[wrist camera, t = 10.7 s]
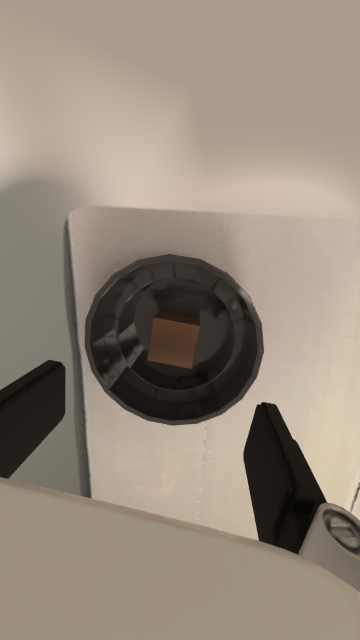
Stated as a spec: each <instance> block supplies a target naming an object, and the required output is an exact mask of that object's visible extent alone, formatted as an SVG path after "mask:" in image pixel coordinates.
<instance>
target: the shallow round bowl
mask: <svg viewBox="0 0 360 640" xmlns="http://www.w3.org/2000/svg"><path fill="white" fill-rule="evenodd" d="M161 308H164V309H169V310H175V311H180V312H186V313H191V314H197V315H200V329H199V334H198V339H197V345H196V350H195V355H194V360H193V365H192V369H190V368H185V367H179V366H174V365H169V364H164V363H159V362H154V361H149V360H147V358H148V351H149V343H150V336H151V329H152V321H153V317H154V316H155V315H156V314H157V313H158V312H159V310H160V309H161ZM85 349H86V353H87V356H88V360H89V363H90V367H91V370H92V372H93V374H94V375H95V377H96V378H97V380H98V382H99V383H100V385H101V386H102V388H103V389H104V391H105V392H106V393H107V394H108V395H109V396H110V397H111V398H112V399H113V400H115V401H116V402H117V403H118V404H119V405H120V406H121V407H122V408H124V409H125V410H127V411H129V412H131V413H133V414H135V415H137V416H139V417H141V418H143V419H145V420H148V421H152V422H157V423H162V424H167V425H185V424H197V423H200V422H203V421H206V420H209V419H211V418H214V417H217V416H219V415H221V414H223V413H224V412H226V411H227V410H228V409H230V408H231V407H232V406H234V405H235V404H236V403H238V402H239V401H240V400H241V399H242V398H243V397H244V395H245V394H246V393H247V391H248V390H249V388H250V387H251V385H252V384H253V382H254V381H255V379H256V378H257V375H258V371H259V368H260V364H261V360H262V357H263V353H264V346H263V333H262V323H261V320H260V318H259V316H258V314H257V312H256V309H255V307H254V305H253V303H252V301H251V298H250V296H249V295H248V294H247V293H246V292H245V291H244V290H243V289H242V288H241V287H240V286H239V285H238V283H237V282H236V281H235V280H234V279H233V278H232V277H231V276H230V275H229V274H228V273H226V272H224V271H222V270H220V269H218V268H216V267H214V266H213V265H211V264H209V263H207V262H205V261H203V260H201V259H197V258H190V257H184V256H177V255H171V254H168V255H162V256H156V257H151V258H145V259H140V260H137V261H136V262H134V263H132V264H130V265H129V266H127V267H125V268H123V269H122V270H120V271H118V272H116V273H114V274H113V275H112V276H111V278H110V279H109V280H108V281H107V282H106V283H105V285H104V286H103V287H102V288H101V289H100V290H99V291H98V293H97V294H96V295H95V297H94V300H93V303H92V305H91V308H90V310H89V313H88V315H87V318H86V323H85Z"/></svg>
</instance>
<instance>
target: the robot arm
mask: <svg viewBox="0 0 360 640" xmlns="http://www.w3.org/2000/svg"><path fill="white" fill-rule="evenodd" d="M64 415H65V366H63V364H62V363H61V362H57V361H52V360H48V361H46V362H45V363H43V364H41V365H40V366H38V367H37V368H35V369H33V370H32V371H30V372H29V373H27V374H25V375H24V376H22V377H21V378H19V379H17V380H16V381H14V382H13V383H11V384H9V385H8V386H6V387H5V388H3V389H1V390H0V640H360V521H359V520H358V519H357V518H356V517H355V516H354V515H352V514H351V513H350V512H348V511H347V510H345V509H344V508H342V507H340V506H338V505H335V504H331V503H327V501H326V499H325V497H324V495H323V493H322V491H321V489H320V487H319V485H318V483H317V481H316V479H315V477H314V475H313V473H312V471H311V469H310V467H309V465H308V463H307V461H306V459H305V457H304V455H303V453H302V451H301V449H300V447H299V445H298V443H297V442H296V441H295V440H294V439H293V438H292V436H291V434H290V432H289V430H288V428H287V426H286V424H285V422H284V420H283V418H282V416H281V414H280V412H279V410H278V407H277V406H276V405H275V404H271V403H266V402H262V403H261V405H259V404H258V405H257V407H256V410H255V413H254V417H253V420H252V424H251V427H250V431H249V434H248V438H247V441H246V445H245V448H244V454H243V457H244V464H245V469H246V474H247V480H248V485H249V490H250V495H251V501H252V506H253V511H254V517H255V522H256V527H257V532H258V538H259V541H257V540H254V539H250V538H246V537H242V536H239V535H235V534H231V533H228V532H224V531H220V530H216V529H213V528H209V527H205V526H201V525H197V524H193V523H189V522H185V521H180V520H176V519H172V518H168V517H164V516H160V515H156V514H152V513H148V512H144V511H140V510H136V509H132V508H128V507H124V506H120V505H115V504H111V503H107V502H103V501H99V500H95V499H91V498H86V497H82V496H78V495H74V494H70V493H66V492H62V491H57V490H53V489H49V488H44V487H40V486H36V485H32V484H27V483H23V482H19V481H14V480H10V479H8V478H9V477H10V476H11V475H12V474H13V473H14V472H15V470H17V468H18V467H19V466H20V465H21V464H22V463H23V462H24V461H25V460H26V459H27V457H28V456H29V455H30V454H31V453H32V452H33V451H34V450H35V449H36V448H37V447H38V445H39V444H40V443H41V442H42V441H43V440H44V439H45V438H46V437H47V436H48V434H49V433H50V432H51V431H52V430H53V429H54V428H55V427H56V426H57V425H58V423H59V422H60V421H61V420H62V419H63V417H64Z"/></svg>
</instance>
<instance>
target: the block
mask: <svg viewBox="0 0 360 640" xmlns="http://www.w3.org/2000/svg"><path fill="white" fill-rule="evenodd" d="M199 329H200V315H197V314H191V313H186V312H180V311H175V310H169V309H164V308H161V309H160V310H159V312H158V313H157V314H156V315H155V316H154V317H153V321H152V329H151V336H150V343H149V351H148V358H147V360H149V361H154V362H159V363H164V364H169V365H174V366H179V367H185V368H190V369H192V365H193V360H194V355H195V350H196V345H197V339H198V334H199Z"/></svg>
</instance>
